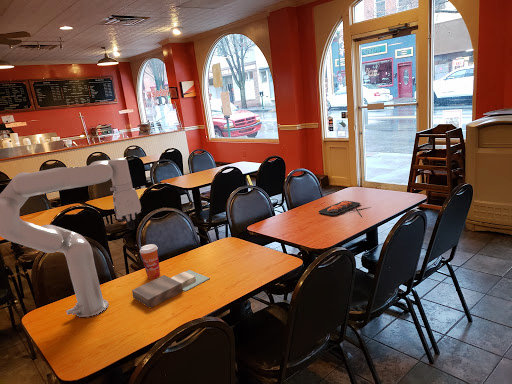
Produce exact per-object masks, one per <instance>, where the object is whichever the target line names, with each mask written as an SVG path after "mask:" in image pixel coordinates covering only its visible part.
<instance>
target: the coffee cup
mask: <svg viewBox="0 0 512 384" xmlns="http://www.w3.org/2000/svg"><path fill="white" fill-rule="evenodd" d="M158 248H159V247H158V246H157V245H156V244H154V243H151V244H145V245H142V246H141V247H140V250H139V253H140V255H141V258H142V262H143V266H144V269H145V273H146V276H147V278H148V279H151V280H155V279H157V278H159V277H161V270H160V262H159V255H158Z"/></svg>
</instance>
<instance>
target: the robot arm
mask: <svg viewBox="0 0 512 384" xmlns="http://www.w3.org/2000/svg"><path fill="white" fill-rule="evenodd" d="M109 180H111V182H112V183H111V184H112V187H110V188H109V190H110V192H112V201H113V203H112V205H113V210H114V213H115V217H116V219H117V220H124V221H125V222H126V223H125V224H126V227H127V229H128V230H131V231H132V230H135V229H136V222H135V220H136V216H137V215H138V214H141V213H142V211H141V209H142V205H141V201H140V198H139V195H138V192H137V191H136V189H135V187H134V188H133V182H132V177H131V174H130V169H129V163H128V160H127V158H125V157H116V158H115V157H114V158H111V159H107V160H97V161H92V162H91V163H90V164H89V165H85V166H84V165H83V166H77V167H65V166H64V167H63V166H62V167H60V166H59V167H55V168H54V167H53V168H50V169H45V170H40V171H39V170H38V171H33V172H25V171H24V172H18V173H17V174H16V175H15V176H14V177H13V178H12V179H11V180H10V181H9V182H8V184H7V185H6V187H5V188H4V189H3V191H1V192H0V238H2V239H4V240H6V241H8V242H12V243H14V244H18V245H21V246H24V247H26V248H29V249H30V248H31V249H34V250H37V251H40V252H43V253H45V254H46V253H47V254H53V253H57V252H58V253H62V254H64V256H65V259H66V262H67V267H68V270H69V276H70V280H71V283H72V287H73V290H74V294H75V298H76V301H77V302H75V305H74V306H73V307H72V308H69V309H67V310H65V312H66V315H67V316H69V315H73V316H74V315H76V317H78V316H79V317H78V318H80V317H87V318H90V317H89V316H92V317H94V316H93V315H95V316H97V315H99V313H100V312H101V313H103V312H104V311H105V310H106V308H107V309H108V307H109V301H108V300H107V299H104V297H103V294H102V289H101V285H100V281H99V277H98V272H97V268H96V265H95V259H94V253H93V248H92V246H91V244H90V243H89V241H88V240H87V239H86V238H85V237H84V236H83V235H82V234H79V233H77V232H74V231H71V230H69V229H65V228H63V227H60V226H56V225H53V224H44V225H41V226H40V225H37V224H35V223H33V222H29V221H25V220H23V219H22V218H21V217H20V214H21V213H20V209H21V208H22V207H23V206H24V205H25V203H26V202H27V200H29V198H30V197H34V196H39V195H44V194H49V193H54V192H57V191H64V190H70V189H75V188H82V187H87V186H88V187H89V186H93V185H96V184H101V183H102V184H103V183H106V182H108V181H109ZM103 310H104V311H103ZM102 311H103V312H102ZM101 313H100V314H101ZM96 314H97V315H96Z"/></svg>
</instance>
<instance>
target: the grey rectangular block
mask: <svg viewBox="0 0 512 384" xmlns="http://www.w3.org/2000/svg"><path fill="white" fill-rule="evenodd" d="M182 291H183V289H182V284H181V283H180V282H178V281H176V280H174V279H171V277H169V276H167V275H162V276H161V275H160V276H159V277H157V278H154V279H152V280H150V281H148V282H146V283H144V284H142V285H140V286H137V287H135V288H133V289H131V292H132V293H131V294H132V297H133V299H134V298H135V299H136V300H135V299H134V300H135V301H137V300H138V301H137V302H139V301H140V302H141V304H142V303H143V304H142V305H144V304H145V305H146V306H145V305H144V306H145V307H147V306H148V307H147V308H149V307H152V308H154V307H156V306H158V305H159V303H160V304H162V303H163V301H164V302H165V301H167V300H169V299H171V298H173V297H175V296H177V295H179V294H181V293H182ZM180 292H181V293H180ZM183 292H184V291H183ZM140 302H139V303H140ZM161 302H162V303H161ZM157 304H158V305H157ZM155 305H156V306H155ZM153 306H154V307H153Z"/></svg>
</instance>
